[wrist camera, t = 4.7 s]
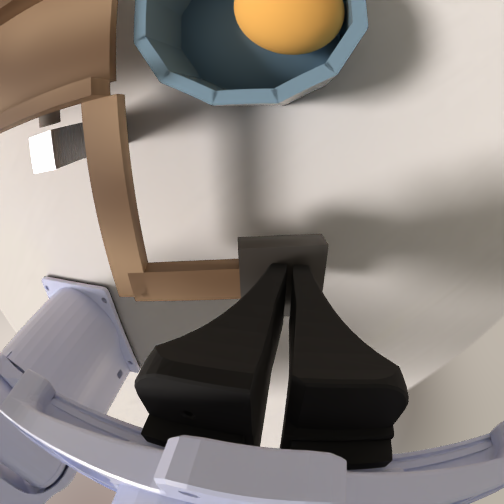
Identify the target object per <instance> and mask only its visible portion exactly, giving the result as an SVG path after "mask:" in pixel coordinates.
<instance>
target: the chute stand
mask: <svg viewBox="0 0 504 504" xmlns="http://www.w3.org/2000/svg"><path fill="white" fill-rule="evenodd" d="M29 145H30V152H31V159H32V165H33V171H34V174H35V173H40V172H44V171H49V170H55V169H58V168H60V167H62V166H65V165H67V164H70V163H73V162H75V161H78V160H80V159H83V158H86V157H87V156H86V149H85V141H84V131H83V123H78V124H74V125H69V126H65V127H61V128H57V129H53V130H49V131H46V132H43V133H41V134H38V135H35V136H32V137H30V138H29Z"/></svg>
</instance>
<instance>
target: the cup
mask: <svg viewBox="0 0 504 504" xmlns="http://www.w3.org/2000/svg"><path fill="white" fill-rule="evenodd" d="M343 3H344V9H345V14H344V21H343V25H342V27H341V29H340V31H339V33H338V34H337V35H336V37H335V38H334V39H333V40H332V41H331V42H330V43H328V44H327V45H325V46H324V47H322V48H320V49H318V50H316V51H313V52H310V53H306V54H300V55H286V54H279V53H275V52H272V51H269V50H266V49H264V48H262V47H260V46H258V45H257V44H255V43H254V42H252V41H251V40H250V39H249V38H248V37H247V36H246V35H245V34H244V33H243V31H242V30H241V29H240V27H239V25H238V23H237V21H236V17H235V13H234V0H135V14H134V42H135V43H134V44H135V45H136V47H137V48H138V50H139V51H140V53H141V54H142V56H143V57H144V59H145V60H146V62H147V63H148V65H149V66H150V68H151V69H152V71H153V72H154V74H155V75H156V77H157V78H158V80H159V81H160V82H161V83H163V84H165V85H168V86H170V87H172V88H175V89H177V90H179V91H182V92H184V93H186V94H188V95H191V96H193V97H195V98H197V99H199V100H201V101H204V102H206V103H208V104H210V105H213V106H253V105H287V104H289V103H291V102H293V101H295V100H297V99H298V98H300V97H302V96H304V95H307V94H309V93H311V92H313V91H315V90H317V89H319V88H321V87H323V86H325V85H327V84H328V83H329V82H330V81H331V80H332V79H333V78H334V77H335V76H336V75H337V74H338V73H339V71H340V70H341V68H342V67H343V65H344V64H345V62H346V61H347V59H348V58H349V56H350V55H351V53H352V52H353V50H354V49H355V47H356V46H357V44H358V43H359V41H360V40H361V38H362V37H363V35H364V34H365V32H366V31H367V29H368V18H367V8H366V0H343Z"/></svg>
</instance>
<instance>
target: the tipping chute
mask: <svg viewBox="0 0 504 504" xmlns="http://www.w3.org/2000/svg"><path fill="white" fill-rule="evenodd" d="M117 6H118V0H0V133H2V132H4V131H7V130H9V129H11V128H13V127H16V126H18V125H20V124H23V123H25V122H28V121H30V120H33V119H35V118H38V117H39V126H40V127H45V126H48V125H52V124H55V123H58V122H61V121H60V110H61V109H64V108H67V107H70V106H73V105H77V104H80V103H81V108H82V121H83V131H84V141H85V149H86V156H87V163H88V170H89V176H90V182H91V188H92V193H93V198H94V203H95V208H96V213H97V217H98V222H99V226H100V230H101V234H102V238H103V242H104V246H105V250H106V254H107V257H108V261H109V264H110V268H111V271H112V275H113V278H114V281H115V284H116V287H117V291H118V294H119V297H134V298H135V301H184V300H217V299H241V298H242V297H243V296H244V295H245V294H246V293H247V292H248V291H249V290H250V289H251V288H252V287H253V286H254V285H255V283H256V282H257V281H258V280H259V279H260V278H261V276H262V275H263V274H264V272H265V271H266V270H267V268H268V267H269V265H271V264H287V276H286V294H285V308H284V316H290V305H291V292H292V277H293V265H294V264H297V265H309V266H310V267H311V270H312V272H313V275H314V277H315V279H316V281H317V283H318V285H319V287H320V289H321V291H322V290H323V283H324V276H325V268H326V260H327V252H328V244H327V242H326V240H325V239H324V237H323V236H322V234H307V235H281V236H257V237H238V255H239V259H222V260H200V261H177V262H154V263H148V260H147V256H146V251H145V246H144V241H143V236H142V231H141V226H140V220H139V215H138V209H137V203H136V197H135V190H134V184H133V177H132V169H131V161H130V153H129V144H128V133H127V122H126V108H125V95H123V94H115V95H111V96H110V82H114V81H116V23H117Z"/></svg>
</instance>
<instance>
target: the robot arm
mask: <svg viewBox="0 0 504 504" xmlns="http://www.w3.org/2000/svg"><path fill="white" fill-rule="evenodd" d="M286 276H287V264H271V265H269V267H268V268H267V270H266V271H265V272H264V274H263V275H262V276H261V278H260V279H259V280H258V281H257V282H256V283H255V285H254V286H253V287H252V288H251V289H250V290H249V291H248V292H247V293H246V294H245V295H244V296H243V297H242V298H241V299H240V300H239V301H238V302H237V303H236V304H234V305H233V306H232V307H231V308H230V309H228V310H227V311H226V312H225V313H223V314H222V315H220V316H219V317H217V318H216V319H214V320H213V321H211V322H209V323H208V324H206V325H205V326H203V327H201V328H199V329H197V330H195V331H193V332H191V333H189V334H187V335H184V336H182V337H180V338H177V339H174V340H172V341H169V342H166V343H163V344H160V345H157V346H155V348H154V350H153V351H152V352H151V354H150V355H149V356H148V358H147V360H146V361H145V363H144V365H143V367H142V368H141V370H140V367H139V365H138V363H137V361H136V358H135V356H134V354H133V352H132V349H131V347H130V345H129V342H128V340H127V337H126V335H125V333H124V330H123V328H122V325H121V322H120V320H119V317H118V315H117V312H116V309H115V306H114V304H113V301H112V298H111V295H110V292H109V290H108V289H107V288H105V287H102V286H96V285H90V284H85V283H79V282H73V281H68V280H62V279H57V278H52V277H47V276H44V277H43V278H42V283H43V285H44V288H45V290H46V293H47V295H48V297H49V299H48V300H47V301H46V302H45V303H44V305H43V306H42V307H41V308H40V309H39V310H38V311H37V312H36V313H35V314H34V315H33V316H32V317H31V318H30V319H29V320H28V321H27V322H26V324H25V325H24V326H23V327H22V328H21V329H20V330H19V331H18V332H17V334H16V335H15V336H14V337H13V338H12V339H11V341H10V342H9V343H8V344H7V345H6V346H5V347H4V349H3V350H2V351H1V353H0V504H45V503H46V502H47V501H48V500H49V499H50V498H51V497H52V496H53V495H55V494H56V493H57V492H60V491H62V490H63V489H65V488H66V487H67V486H68V485H69V484H70V483H71V481H72V480H73V478H74V476H75V474H76V472H79V473H81V474H83V475H84V476H86V477H88V478H90V479H92V480H93V481H95V482H97V483H99V484H101V485H103V486H105V487H107V488H109V489H111V490H113V491H115V492H116V494H115V497H114V499H113V502H112V504H470V503H472V502H474V501H477V500H479V499H482V498H484V497H486V496H488V495H491V494H493V493H495V492H497V491H499V490H500V489H502V488H504V421H503V422H501V423H500V424H498V425H497V426H496V427H495V428H494V429H493V430H492V431H491V432H490V433H489V434H486V435H483V436H479V437H476V438H473V439H469V440H465V441H461V442H458V443H454V444H449V445H445V446H440V447H436V448H431V449H425V450H420V451H413V452H407V453H400V454H392V447H391V439H392V438H393V437H394V429H393V424H394V423H395V422H396V421H397V419H398V418H399V417H400V415H401V414H402V413H403V411H404V410H405V408H406V406H407V405H408V392H407V387H406V384H405V381H404V378H403V375H402V373H401V370H400V368H399V366H397V365H396V364H394V363H393V362H391V361H389V360H388V359H386V358H385V357H383V356H382V355H380V354H379V353H377V352H376V351H375V350H373V349H372V348H371V347H369V346H368V345H367V344H366V343H364V342H363V341H362V340H361V339H360V338H359V337H358V336H357V335H356V334H355V333H353V332H352V331H351V330H350V329H349V328H348V326H347V325H346V324H345V323H344V322H343V321H342V320H341V318H340V317H339V316H338V315H337V313H336V312H335V311H334V309H333V308H332V306H331V305H330V304H329V302H328V301H327V299H326V297H325V296H324V294H323V292H322V291H321V289H320V287H319V285H318V283H317V281H316V279H315V277H314V275H313V272H312V270H311V267H310V266H309V265H297V264H294V265H293V277H292V292H291V305H290V318H289V381H288V390H287V398H286V407H285V415H284V422H283V430H282V437H281V444H280V449H277V448H267V447H260V443H261V436H262V430H263V423H264V417H265V410H266V404H267V397H268V390H269V384H270V377H271V372H272V367H273V363H274V359H275V355H276V351H277V346H278V342H279V338H280V334H281V330H282V325H283V318H284V308H285V294H286ZM139 370H140V372H139ZM130 371H131V372H135V373H138V372H139V374H138V376H137V378H136V380H135V389H136V391H137V394H138V396H139V398H140V399H141V401H142V403H143V404H144V406H145V408H146V409H147V411H148V413H149V416H148V418H147V420H146V423H145V425H144V427H143V428H141V427H138V426H135V425H132V424H129V423H126V422H124V421H121V420H118V419H116V418H113V417H110V416H108V415H106V414H107V412H108V410H109V408H110V406H111V404H112V403H113V401H114V399H115V397H116V395H117V393H118V392H119V390H120V388H121V386H122V384H123V383H124V381H125V379H126V377H127V376H128V374H129V372H130Z"/></svg>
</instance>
